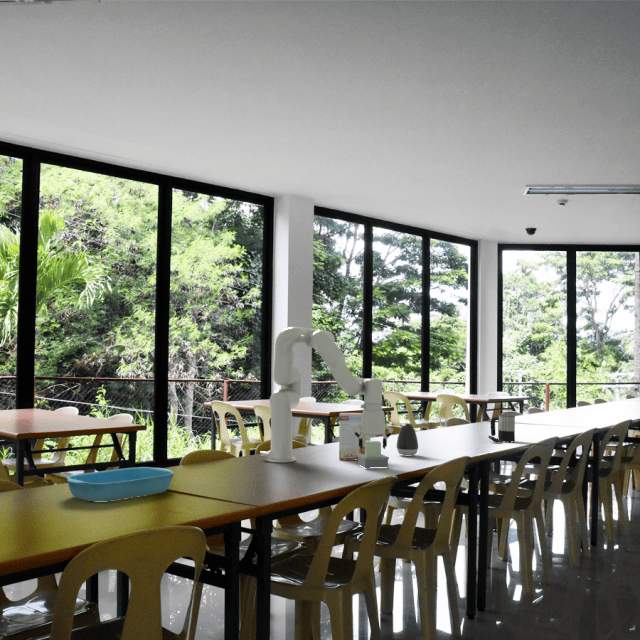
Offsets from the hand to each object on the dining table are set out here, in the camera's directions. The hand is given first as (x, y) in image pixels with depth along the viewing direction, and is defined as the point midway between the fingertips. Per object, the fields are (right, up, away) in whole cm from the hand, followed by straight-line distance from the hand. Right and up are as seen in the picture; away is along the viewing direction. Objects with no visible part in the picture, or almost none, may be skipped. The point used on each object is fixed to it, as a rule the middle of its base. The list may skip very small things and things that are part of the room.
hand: (372, 448), depth 289 cm
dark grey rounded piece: (+19, -10, +33) cm, 39 cm away
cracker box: (-7, -9, +19) cm, 22 cm away
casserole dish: (-89, -4, -62) cm, 108 cm away
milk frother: (+78, -13, +88) cm, 119 cm away
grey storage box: (0, -8, 0) cm, 8 cm away
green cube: (0, -3, 0) cm, 3 cm away
